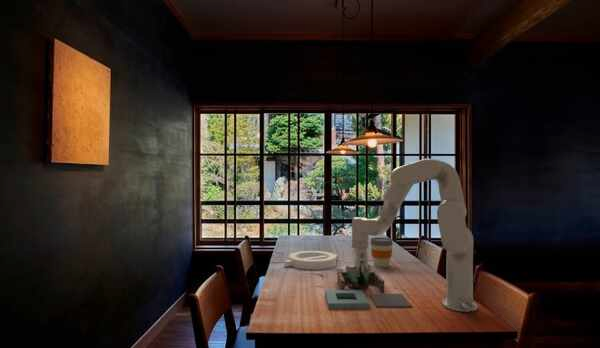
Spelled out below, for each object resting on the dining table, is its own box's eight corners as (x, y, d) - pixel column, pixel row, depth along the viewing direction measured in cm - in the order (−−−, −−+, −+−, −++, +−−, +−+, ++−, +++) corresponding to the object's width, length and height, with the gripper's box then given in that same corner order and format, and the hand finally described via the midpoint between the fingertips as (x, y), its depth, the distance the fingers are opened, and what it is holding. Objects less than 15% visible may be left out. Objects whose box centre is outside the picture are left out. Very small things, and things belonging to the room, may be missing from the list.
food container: (350, 291, 155) (350, 269, 155) (345, 287, 161) (345, 265, 161) (375, 289, 159) (375, 267, 159) (369, 285, 164) (369, 263, 165)
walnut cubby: (384, 292, 154) (384, 281, 154) (341, 292, 154) (341, 281, 154) (376, 281, 170) (376, 271, 170) (337, 281, 170) (337, 271, 170)
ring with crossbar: (339, 259, 217) (339, 252, 217) (331, 271, 190) (331, 262, 190) (296, 257, 224) (296, 249, 224) (282, 267, 197) (282, 259, 197)
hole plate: (369, 308, 135) (369, 303, 135) (328, 308, 135) (328, 303, 135) (361, 294, 151) (361, 290, 151) (325, 294, 151) (325, 290, 151)
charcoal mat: (412, 307, 136) (412, 305, 136) (376, 307, 136) (376, 305, 136) (401, 295, 150) (401, 293, 150) (369, 295, 150) (369, 294, 150)
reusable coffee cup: (368, 262, 208) (368, 237, 208) (388, 262, 209) (388, 237, 209) (373, 268, 196) (373, 241, 196) (395, 267, 196) (395, 241, 197)
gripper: (372, 248, 152) (372, 289, 152) (364, 240, 169) (364, 277, 169) (355, 248, 152) (354, 289, 152) (349, 240, 169) (349, 277, 169)
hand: (359, 282), depth 160 cm, fingers open, 6 cm apart
